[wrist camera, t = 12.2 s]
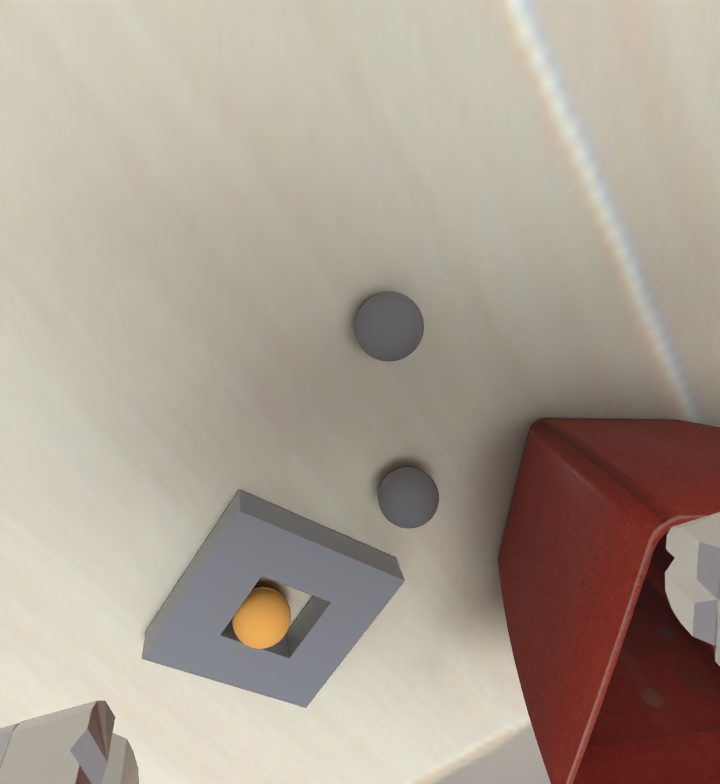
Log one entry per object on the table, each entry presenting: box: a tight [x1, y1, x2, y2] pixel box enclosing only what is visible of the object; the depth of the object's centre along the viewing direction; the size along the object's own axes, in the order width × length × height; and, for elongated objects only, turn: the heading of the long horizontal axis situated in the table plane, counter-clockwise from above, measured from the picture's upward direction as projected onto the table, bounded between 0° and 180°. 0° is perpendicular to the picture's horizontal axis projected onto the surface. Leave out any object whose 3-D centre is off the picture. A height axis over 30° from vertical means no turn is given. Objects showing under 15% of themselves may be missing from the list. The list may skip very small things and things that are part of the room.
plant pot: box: [499, 419, 720, 784], centre depth 39 cm, size 19×19×17 cm
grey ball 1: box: [355, 292, 424, 361], centre depth 36 cm, size 4×4×4 cm
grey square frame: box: [142, 490, 405, 708], centre depth 44 cm, size 13×13×2 cm
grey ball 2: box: [378, 467, 439, 528], centre depth 41 cm, size 4×4×4 cm
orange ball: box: [232, 587, 291, 649], centre depth 43 cm, size 4×4×4 cm
